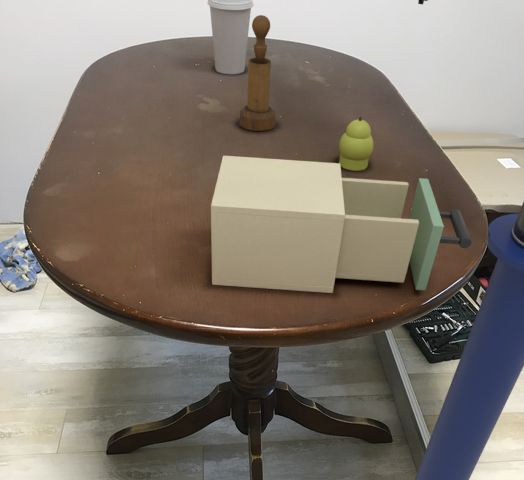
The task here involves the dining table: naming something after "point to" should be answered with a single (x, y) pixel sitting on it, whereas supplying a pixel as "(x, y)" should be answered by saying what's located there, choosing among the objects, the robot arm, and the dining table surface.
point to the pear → (356, 146)
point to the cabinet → (277, 224)
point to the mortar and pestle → (258, 83)
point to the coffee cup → (230, 34)
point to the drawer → (392, 231)
